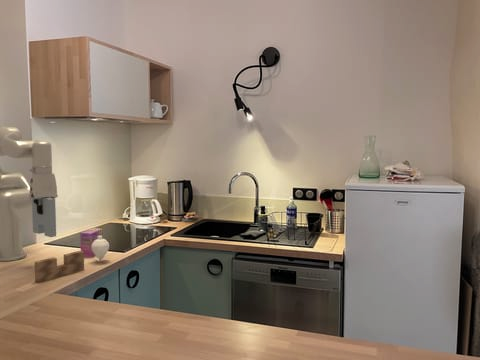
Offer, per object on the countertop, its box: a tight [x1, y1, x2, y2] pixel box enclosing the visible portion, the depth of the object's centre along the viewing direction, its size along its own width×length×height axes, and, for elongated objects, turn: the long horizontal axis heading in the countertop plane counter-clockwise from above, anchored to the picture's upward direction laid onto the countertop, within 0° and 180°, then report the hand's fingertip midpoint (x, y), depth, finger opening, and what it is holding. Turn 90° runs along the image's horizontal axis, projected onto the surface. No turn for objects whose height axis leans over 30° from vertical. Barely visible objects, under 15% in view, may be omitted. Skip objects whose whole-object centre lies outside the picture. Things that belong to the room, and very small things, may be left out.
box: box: [79, 227, 103, 259], centre depth 202 cm, size 10×6×12 cm, turn 168°
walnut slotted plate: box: [34, 250, 85, 284], centre depth 171 cm, size 20×2×8 cm, turn 144°
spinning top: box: [91, 235, 110, 263], centre depth 190 cm, size 8×8×12 cm
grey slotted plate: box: [31, 197, 57, 238], centre depth 181 cm, size 14×2×16 cm, turn 54°
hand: (43, 213), depth 181 cm, fingers closed on grey slotted plate, 2 cm apart
